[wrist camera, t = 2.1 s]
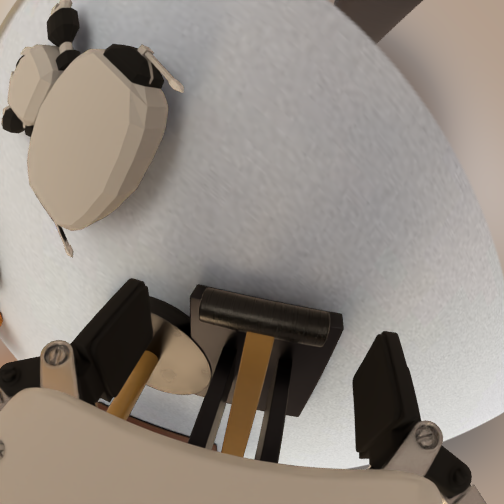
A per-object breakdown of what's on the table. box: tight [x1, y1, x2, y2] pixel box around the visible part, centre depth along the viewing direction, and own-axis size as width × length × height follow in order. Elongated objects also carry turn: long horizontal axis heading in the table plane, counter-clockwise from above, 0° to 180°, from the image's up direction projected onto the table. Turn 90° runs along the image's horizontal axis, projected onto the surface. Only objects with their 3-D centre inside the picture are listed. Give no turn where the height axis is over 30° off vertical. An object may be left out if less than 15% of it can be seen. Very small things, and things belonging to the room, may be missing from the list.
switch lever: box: [199, 288, 330, 457], centre depth 11 cm, size 13×5×2 cm, turn 173°
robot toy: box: [1, 0, 184, 258], centre depth 12 cm, size 12×4×15 cm
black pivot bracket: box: [188, 285, 344, 463], centre depth 16 cm, size 12×10×13 cm
